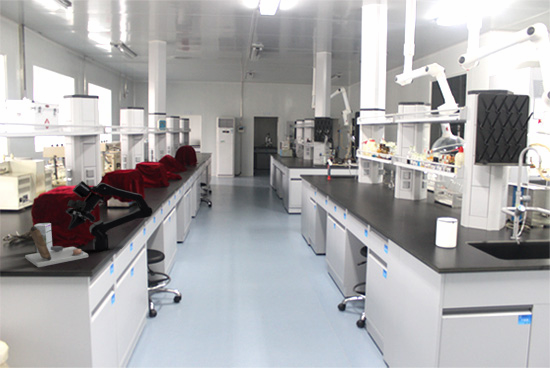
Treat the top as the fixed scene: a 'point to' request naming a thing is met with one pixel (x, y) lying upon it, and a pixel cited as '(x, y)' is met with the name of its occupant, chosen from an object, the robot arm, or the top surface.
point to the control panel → (55, 257)
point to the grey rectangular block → (56, 248)
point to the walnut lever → (40, 243)
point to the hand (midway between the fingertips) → (69, 228)
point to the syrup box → (45, 234)
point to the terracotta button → (76, 251)
